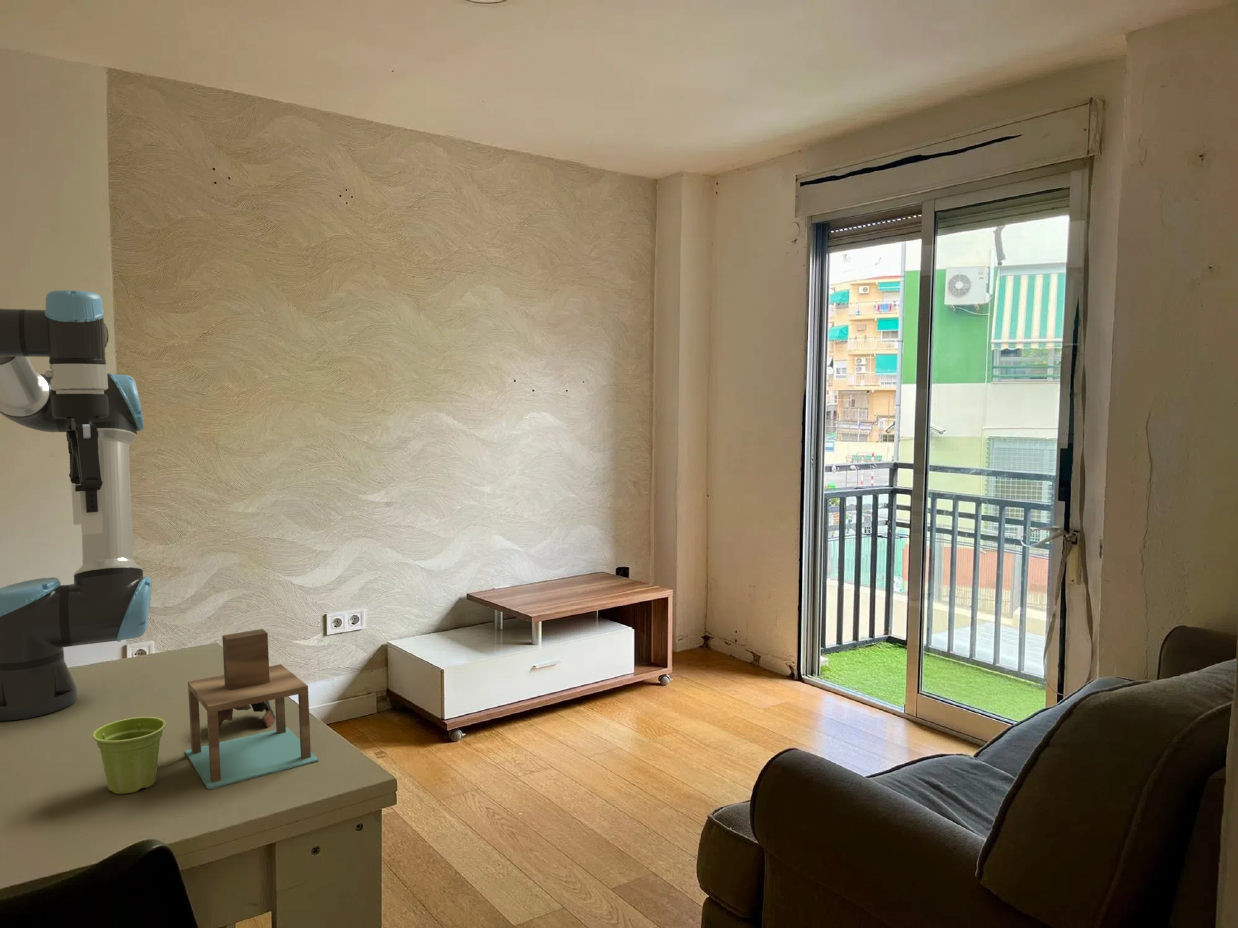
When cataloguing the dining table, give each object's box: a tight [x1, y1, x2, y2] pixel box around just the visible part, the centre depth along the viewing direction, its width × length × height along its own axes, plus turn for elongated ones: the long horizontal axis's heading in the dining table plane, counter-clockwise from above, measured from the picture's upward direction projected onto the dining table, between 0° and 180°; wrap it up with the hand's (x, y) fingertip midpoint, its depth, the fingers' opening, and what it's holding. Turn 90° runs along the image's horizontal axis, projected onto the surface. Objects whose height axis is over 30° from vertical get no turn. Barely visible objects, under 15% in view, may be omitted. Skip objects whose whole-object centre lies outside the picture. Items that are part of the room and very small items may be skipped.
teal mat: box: [185, 726, 319, 790], centre depth 138 cm, size 17×16×1 cm
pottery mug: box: [218, 700, 276, 728], centre depth 153 cm, size 12×10×8 cm
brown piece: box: [187, 628, 312, 783], centre depth 137 cm, size 14×14×20 cm
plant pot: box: [92, 716, 167, 795], centre depth 128 cm, size 9×9×9 cm
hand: (87, 528), depth 136 cm, fingers open, 13 cm apart
